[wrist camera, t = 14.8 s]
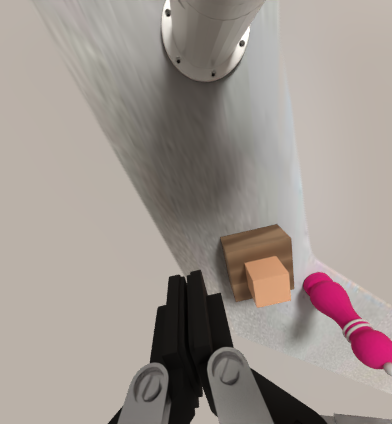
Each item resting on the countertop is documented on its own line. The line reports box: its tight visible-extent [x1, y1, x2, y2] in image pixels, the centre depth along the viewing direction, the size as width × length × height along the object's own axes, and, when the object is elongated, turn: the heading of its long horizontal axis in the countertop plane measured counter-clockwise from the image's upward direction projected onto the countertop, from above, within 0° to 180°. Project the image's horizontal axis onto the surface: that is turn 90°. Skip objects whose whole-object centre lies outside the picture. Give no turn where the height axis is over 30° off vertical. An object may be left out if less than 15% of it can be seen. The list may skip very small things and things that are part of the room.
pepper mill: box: [303, 272, 392, 376], centre depth 40 cm, size 7×7×20 cm
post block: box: [220, 224, 294, 302], centre depth 42 cm, size 12×12×6 cm
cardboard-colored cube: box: [245, 256, 291, 308], centre depth 37 cm, size 6×6×5 cm
